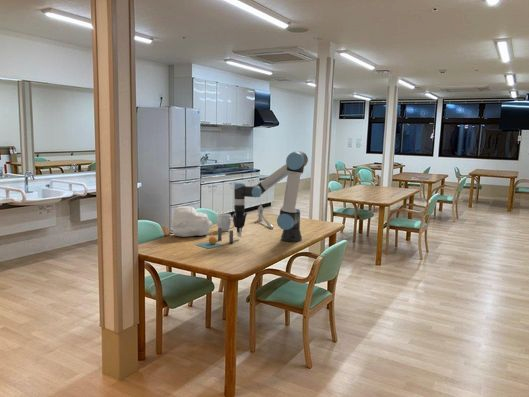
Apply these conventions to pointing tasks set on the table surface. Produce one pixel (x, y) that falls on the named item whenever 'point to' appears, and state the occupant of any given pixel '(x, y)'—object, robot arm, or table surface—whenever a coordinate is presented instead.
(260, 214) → the hammer
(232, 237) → the post
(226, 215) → the mug
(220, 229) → the post
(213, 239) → the ball
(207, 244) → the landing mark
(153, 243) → the table surface
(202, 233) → the sculpture
